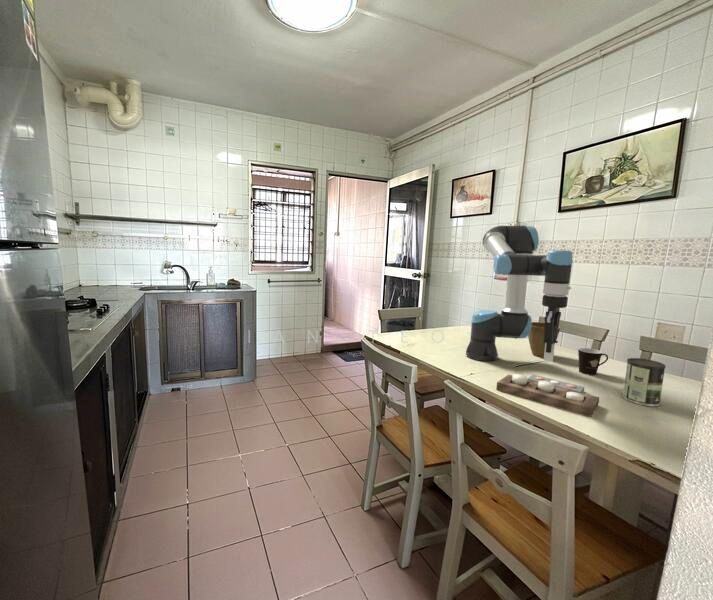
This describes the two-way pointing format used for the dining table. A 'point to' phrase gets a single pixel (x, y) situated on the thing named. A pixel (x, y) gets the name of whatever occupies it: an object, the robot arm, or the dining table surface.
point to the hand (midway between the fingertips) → (548, 360)
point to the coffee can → (644, 381)
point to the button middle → (546, 386)
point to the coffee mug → (589, 360)
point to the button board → (550, 396)
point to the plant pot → (538, 338)
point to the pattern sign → (558, 383)
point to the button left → (519, 379)
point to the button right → (575, 396)
